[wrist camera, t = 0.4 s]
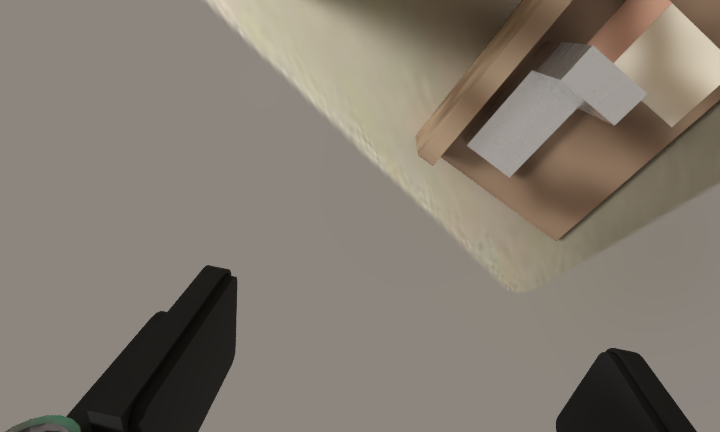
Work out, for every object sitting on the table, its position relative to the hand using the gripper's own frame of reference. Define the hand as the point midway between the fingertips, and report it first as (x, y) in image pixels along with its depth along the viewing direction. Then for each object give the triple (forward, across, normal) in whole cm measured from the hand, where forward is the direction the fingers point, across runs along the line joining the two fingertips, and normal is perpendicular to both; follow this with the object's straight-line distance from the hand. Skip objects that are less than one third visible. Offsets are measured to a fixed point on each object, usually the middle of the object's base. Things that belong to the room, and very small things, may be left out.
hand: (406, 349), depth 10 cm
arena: (+28, -15, -6) cm, 33 cm away
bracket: (+28, -10, -3) cm, 29 cm away
